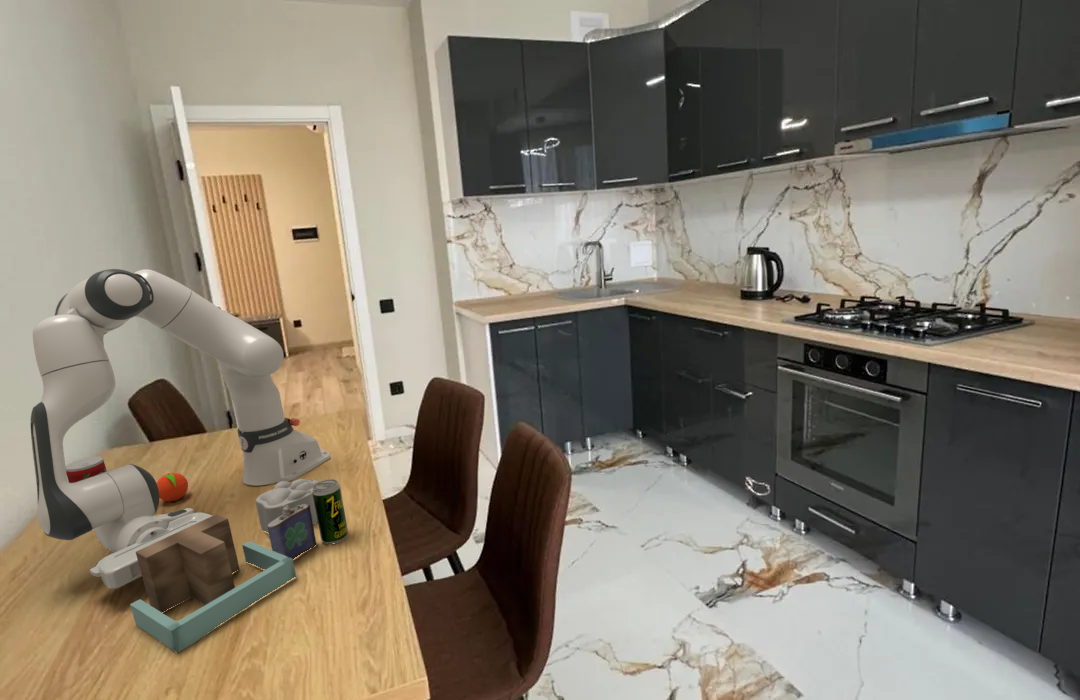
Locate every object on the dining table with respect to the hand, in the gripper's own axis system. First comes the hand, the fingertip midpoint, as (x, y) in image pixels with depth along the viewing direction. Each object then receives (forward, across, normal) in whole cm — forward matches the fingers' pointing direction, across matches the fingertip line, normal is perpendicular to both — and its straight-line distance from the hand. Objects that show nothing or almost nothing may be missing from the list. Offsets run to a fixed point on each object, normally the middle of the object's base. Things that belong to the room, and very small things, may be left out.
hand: (183, 559), depth 106 cm
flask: (+10, +16, +6) cm, 19 cm away
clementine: (-42, +17, +6) cm, 46 cm away
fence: (+10, 0, +6) cm, 11 cm away
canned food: (-62, +7, +6) cm, 63 cm away
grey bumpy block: (-3, +24, +6) cm, 25 cm away
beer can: (+12, +23, +6) cm, 27 cm away
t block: (+6, 0, +6) cm, 8 cm away
